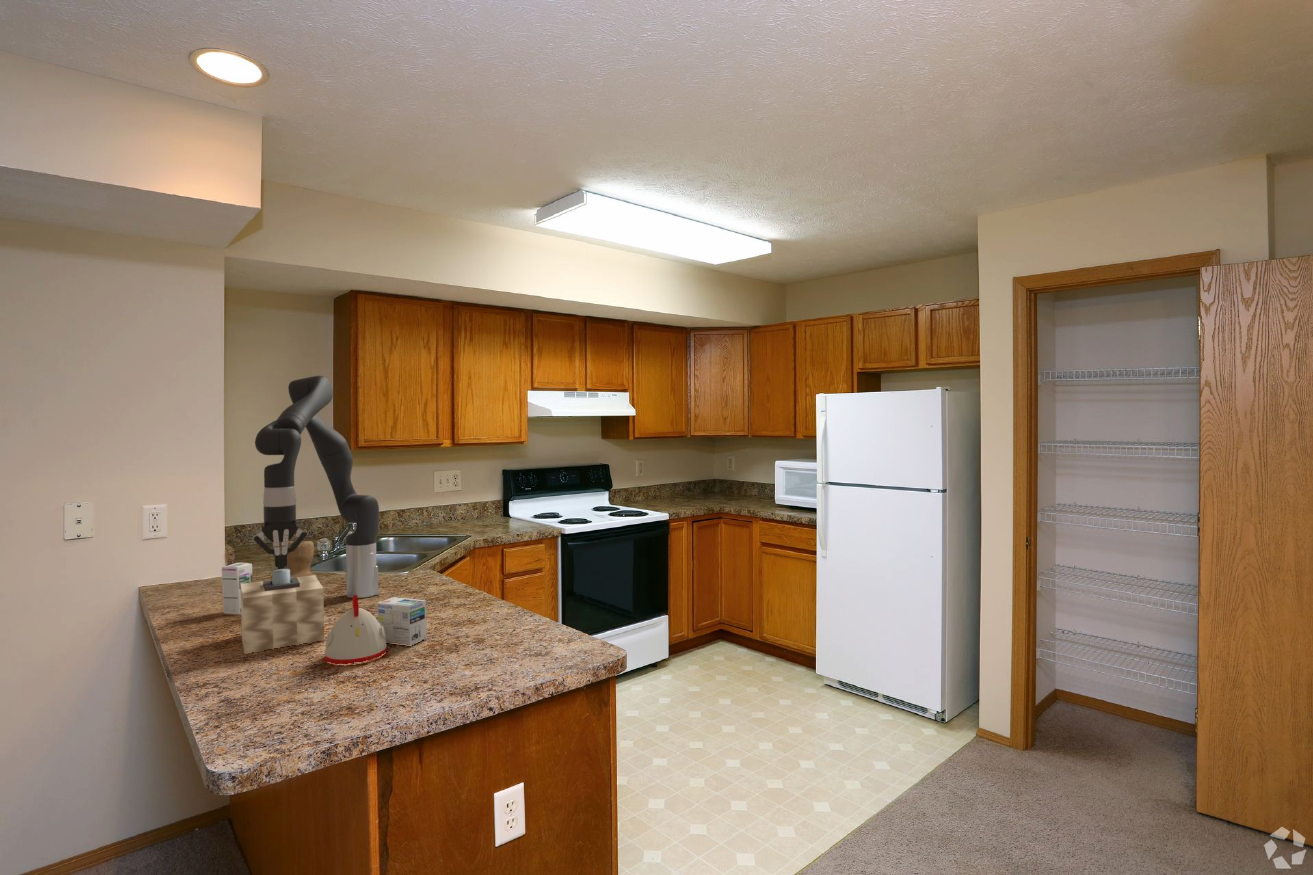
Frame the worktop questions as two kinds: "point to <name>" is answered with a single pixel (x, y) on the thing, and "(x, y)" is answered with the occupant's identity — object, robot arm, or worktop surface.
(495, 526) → the worktop surface
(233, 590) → the syrup box
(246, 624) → the birch block
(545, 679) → the worktop surface
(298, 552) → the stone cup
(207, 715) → the worktop surface
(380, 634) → the kitchen timer
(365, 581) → the robot arm
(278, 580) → the dowel
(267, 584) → the rubber collar
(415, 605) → the light bulb box
